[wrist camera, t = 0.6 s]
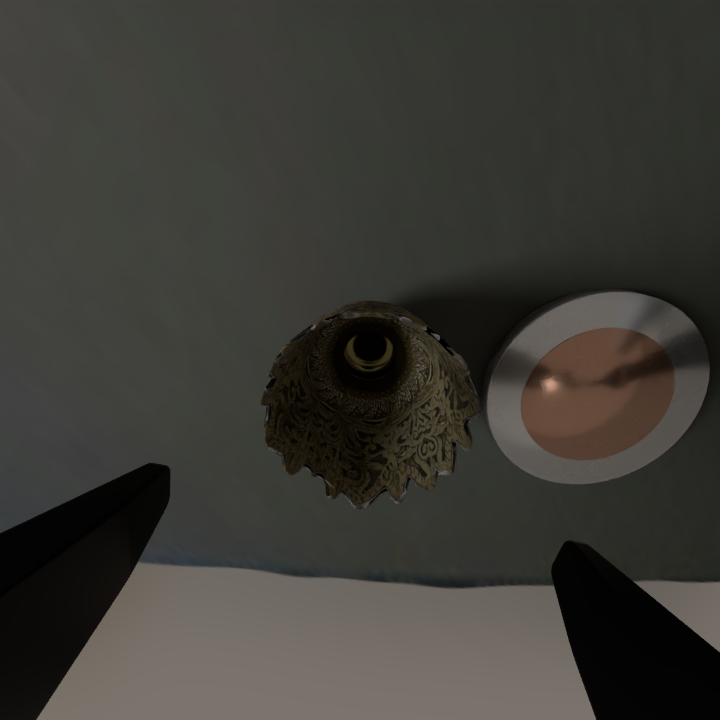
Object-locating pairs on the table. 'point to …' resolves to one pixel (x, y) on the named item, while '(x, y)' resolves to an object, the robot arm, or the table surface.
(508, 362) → the rosette plate
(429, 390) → the cup
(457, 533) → the table surface
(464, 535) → the table surface
